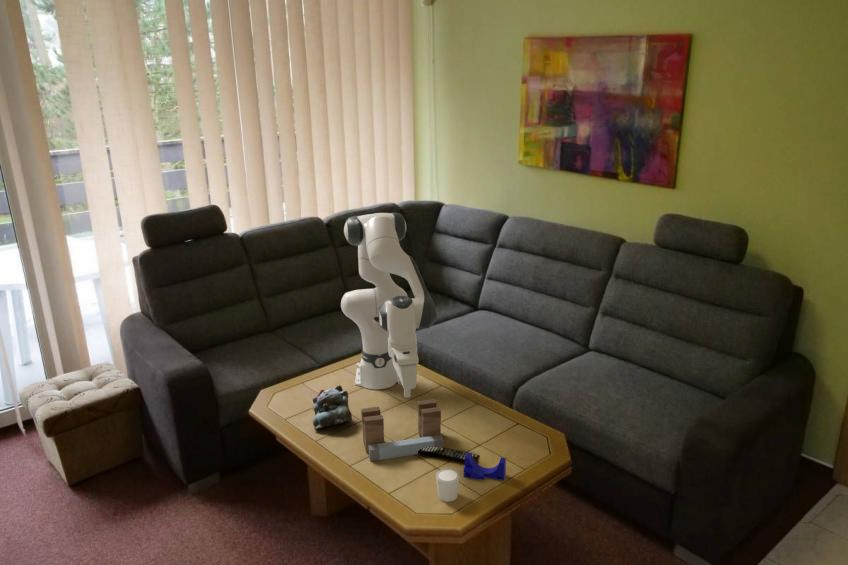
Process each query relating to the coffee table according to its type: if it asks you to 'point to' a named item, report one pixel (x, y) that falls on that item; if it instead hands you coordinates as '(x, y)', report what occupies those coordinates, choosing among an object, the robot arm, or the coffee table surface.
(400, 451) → the bed rail
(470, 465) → the cable clip
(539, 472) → the coffee table surface
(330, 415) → the lucky cat figurine
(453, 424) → the coffee table surface
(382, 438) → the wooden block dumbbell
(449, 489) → the shot glass
